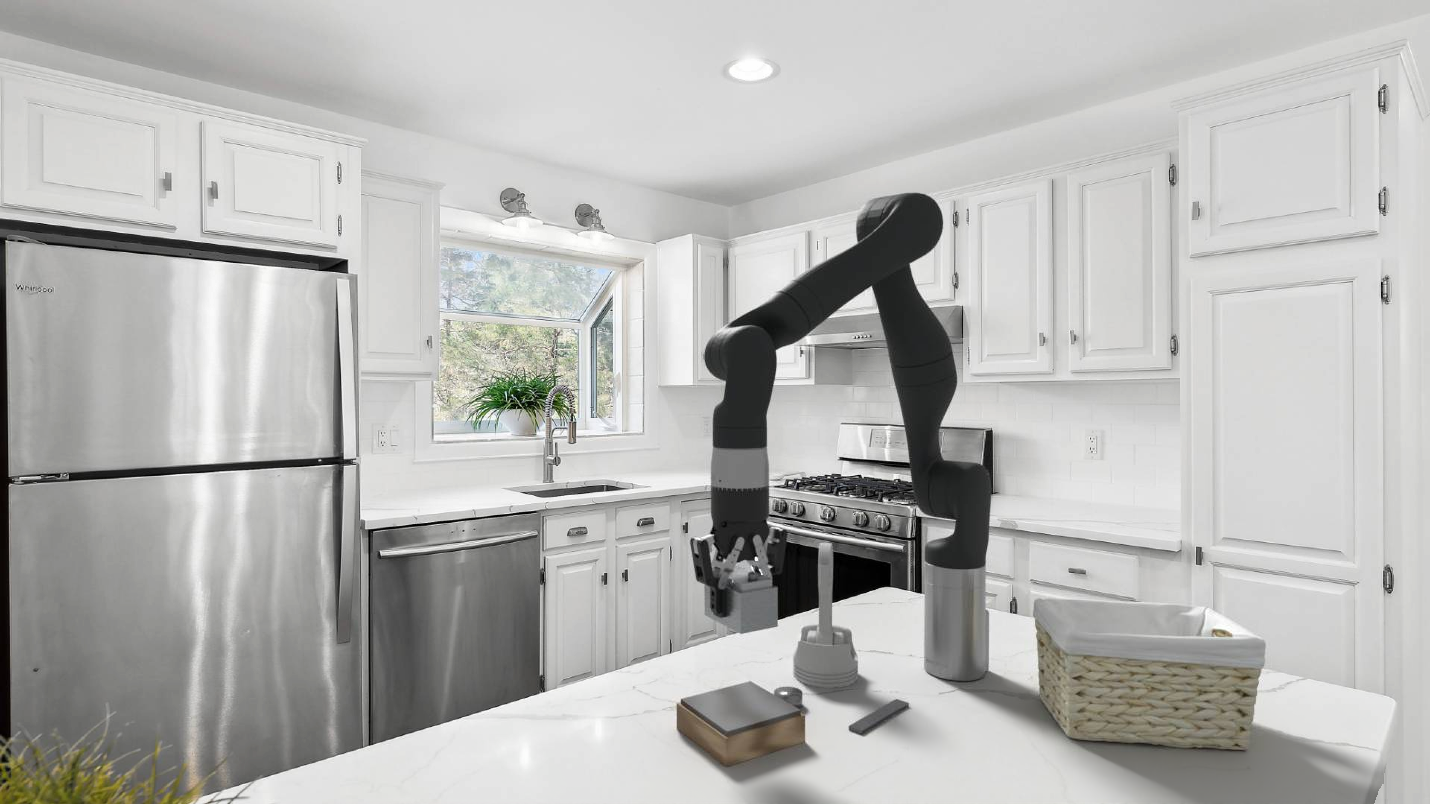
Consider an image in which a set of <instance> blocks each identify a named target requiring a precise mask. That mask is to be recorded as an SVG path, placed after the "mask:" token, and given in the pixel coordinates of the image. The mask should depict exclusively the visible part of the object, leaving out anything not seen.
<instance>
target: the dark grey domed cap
mask: <svg viewBox="0 0 1430 804" xmlns="http://www.w3.org/2000/svg"><path fill="white" fill-rule="evenodd" d="M773 694H774V695H775V696H777V697H779V698H781V699H782V700H784V701H786V702H788V703H789V704H791V705H793V706H795V707H796V708H798V709H800V708H801V709H803V691H802V689H799V688H798V687H795V686H779V687H776V688H775V689H774V691H773ZM801 709H800V710H801Z"/></svg>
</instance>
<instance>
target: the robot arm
mask: <svg viewBox="0 0 1430 804" xmlns="http://www.w3.org/2000/svg"><path fill="white" fill-rule="evenodd" d="M856 217H857V218H856V222H855V223H856V224H855V235H856V242H857V243H855V244H853V245H852V246H850V247H849V248H847V249H845V250H843V251H841V252H839V253H837V254H835V255H833V256H831V257H829V258H827V259H825V260H823V261H821V262H819V263H817V264H815V265H813V266H810V268H808V269H806V270H804V271H803V272H801V273H799V274H798V275H796V276H795V277H793V278H792V279H791V280H789V282H787V283H786V284H784V285H783V286H781V288H779V289H777V291H775V292H774V293H772V295H770V296H769V297H768V298H767V299H766V300H764V301H763V302H762V303H760V305H758V306H756V307H754V308H752V309H750V310H749V311H747V312H745V313H743V314H741V315H739V316H738V317H736V318H735V319H733V320H731V321H730V322H729V323H727V324H725V325H724V326H723V327H721V328H719V329H718V330H717V331H716V332H715V333H714V334H713V335H712V336H711V337H710V338H709V340H708V341H707V344H706V346H705V348H704V355H703V357H704V365H705V366H706V368H707V370H708V372H709V373H710V374H711V375H712V376H713V377H715V378H716V379H718V380H721V381H723V382H725V385H724V386H725V387H724V394H723V399H722V401H721V402H719V403H718V404H716V405H715V406H714V409H713V414H712V454H711V461H710V517H711V519H712V526H711V530H710V531H709V534H707V535H704V536H701V537H698V536H692V537H691V538H690V541H689V544H690V549H691V557H692V562H693V568H694V575H695V580H696V582H698V583H700V584H703V585H704V584H705V585H707V586H709V587H710V609H711V611H712V612H713V613H714V615H715V616H717V617H719V618H724V617H726V616H727V589H726V588H725V587H726V584H727V581H728V578H729V575H730V573H731V572H733V570H734V568H735V567H736V564H737V563H741V562H743V561H746V562H747V564H749V566H750V568H751V571H753V572H756V573H758V574H760V575H763V576H766V577H768V578H771V579H772V577H774V576H775V575H781V574H782V573H783V569H784V563H785V562H784V561H785V555H786V547H787V541H788V534H789V533H788V530H787V529H784V528H781V527H777V526H771V527H770V526H769V524H768V518H769V517H770V463H769V455H768V454H769V453H768V422H767V414H768V411H769V407H770V404H771V403H770V402H771V399H772V395H773V390H774V384H775V380H776V375H777V369H778V368H777V366H778V364H777V363H778V361H777V360H778V357H777V351H778V350H779V349H781V348H785V347H787V346H791V345H794V344H795V343H797V342H799V341H801V340H802V339H804V338H805V337H806V336H808V335H809V333H812V332H813V331H814V330H815V329H816V328H818V327H819V325H821V324H822V323H824V322H825V321H826V320H827V319H829V318H830V317H831V316H832V315H834V313H836V312H837V311H839V310H840V309H841V308H842V307H844V306H845V305H846V304H848V303H849V302H850V301H852V300H854V299H855V298H856V297H858V296H859V295H860V294H862V293H864V292H865V291H866V290H868V289H870V288H872V292H873V295H874V298H875V302H876V306H877V310H878V313H879V318H880V322H881V326H882V329H883V334H884V338H885V342H886V347H887V351H888V358H889V363H890V369H891V373H892V376H893V377H892V378H893V381H894V386H895V390H896V394H897V397H898V402H899V406H900V411H901V416H902V421H903V425H904V431H905V436H906V438H905V439H906V443H907V451H908V459H909V468H910V469H909V470H910V478H911V479H910V480H911V486H912V492H913V495H914V500H915V503H916V506H917V507H918V509H919V510H920V512H921V513H923V514H924V515H927V516H928V517H931V518H932V517H933V518H939V519H944V520H945V519H946V520H954V521H955V525H954V531H953V533H951V534H950V535H949V536H945V537H941V538H937V539H933V540H931V541H928V542H927V543H926V544H925V546H924V614H923V615H924V617H923V618H924V620H923V621H924V626H923V627H924V629H923V630H924V637H923V638H924V639H923V641H924V642H923V647H924V648H923V650H924V651H923V653H924V654H923V667H924V670H925V671H926V672H927V673H929V674H930V675H933V677H937V678H939V679H944V680H949V681H956V682H959V681H962V682H968V681H969V682H970V681H976V680H979V679H981V678H984V676H985V675H986V672H987V671H989V670H990V663H989V662H990V612H989V610H987V609H986V606H987V605H986V600H987V599H986V597H987V596H986V588H987V587H986V586H987V585H986V579H987V576H986V573H987V571H986V569H987V566H986V563H987V561H986V560H987V551H988V546H989V542H990V522H991V521H990V519H991V517H990V516H991V506H992V504H991V503H992V484H991V483H992V482H991V477H990V474H989V472H988V470H987V468H986V467H985V466H984V465H983V464H981V463H978V462H972V461H971V462H970V461H961V460H960V461H958V460H948V459H947V460H946V459H944V458H943V455H942V452H941V446H940V429H941V425H942V422H943V421H944V417H945V415H946V413H947V412H948V409H949V407H950V405H951V403H952V400H953V398H954V396H955V394H956V390H957V386H958V375H957V374H958V373H957V367H956V362H955V358H954V352H953V351H954V350H953V345H952V344H951V340H950V338H949V335H948V333H947V331H946V329H945V327H944V326H943V325H942V323H941V322H940V320H939V319H938V318H937V317H938V316H936V314H935V312H933V310H932V309H931V308H930V306H929V305H928V304H927V302H926V301H925V299H924V298H923V296H922V295H921V293H920V291H919V289H918V288H917V285H916V283H915V279H914V277H913V272H912V268H911V264H912V263H914V262H916V261H917V260H920V259H921V258H923V257H924V256H927V254H929V253H930V252H931V251H933V249H935V248H936V246H937V245H938V243H939V241H940V240H941V236H942V234H943V230H944V217H943V213H942V210H941V208H940V206H939V204H938V202H937V201H936V200H935V199H934V198H933V197H932V196H929V195H928V194H925V193H920V192H903V193H899V194H898V193H897V194H893V195H892V194H891V195H885V196H880V197H875V198H872V199H869V200H868V201H866V202H865V203H864V204H863V205H862V206H861V208H860V209H859V212H858V214H857V216H856ZM766 542H767V545H766V546H767V547H766V551H765V548H764V545H765V544H766ZM712 546H714V548H715V552H714V555H713V558H712V559H711V553H712V552H713V549H712V548H713V547H712ZM724 560H725V562H724Z"/></svg>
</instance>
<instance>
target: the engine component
mask: <svg viewBox="0 0 1430 804" xmlns="http://www.w3.org/2000/svg"><path fill="white" fill-rule="evenodd" d="M833 546H834V545H833V543H831V542H820V543H819V547H818V558H817V559H818V560H817V561H818V562H817V563H818V564H817V582H818V583H817V588H818V624H810V625H809V624H808V625H804V626H803V627H802V628H801V636H800V640H799V641H798V643H797V647H796V649H795V650H794V651H793V653H792V654H793V655H792V665H793V666H792V667H793V668H792V670H793V671H792V675H794V676H793V678H794V679H795V678H796V679H795V680H796V681H798V680H799V681H801V682H802V684H804V683H805V684H804V685H806V684H808V685H807V686H810V687H815V686H817V687H816V688H822V687H826V688H825V689H834V688H833V687H838V688H843V687H842V686H844V687H848V686H851V685H853V684H854V683H856V682H857V681H858V679H859V666H858V665H859V657H858V654H857V652H856V649H855V646H854V642H853V639H852V638H853V633H852V631H851V629H850V628H848V627H844V626H840V625H837V624H836V625H834V624H833V583H834V582H833V581H834V548H833ZM856 680H857V681H856ZM799 681H798V682H799ZM855 681H856V682H855ZM801 682H800V683H801ZM852 683H853V684H852ZM850 684H851V685H850ZM828 687H830V688H828Z"/></svg>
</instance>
